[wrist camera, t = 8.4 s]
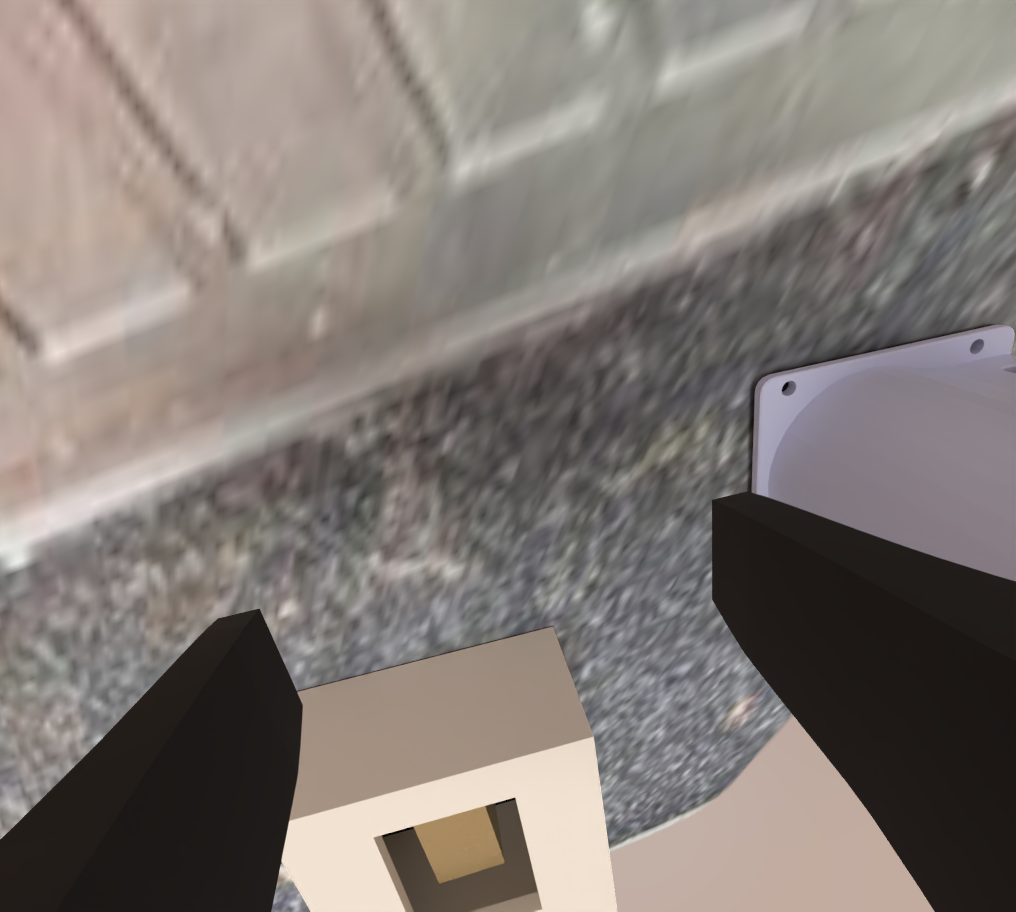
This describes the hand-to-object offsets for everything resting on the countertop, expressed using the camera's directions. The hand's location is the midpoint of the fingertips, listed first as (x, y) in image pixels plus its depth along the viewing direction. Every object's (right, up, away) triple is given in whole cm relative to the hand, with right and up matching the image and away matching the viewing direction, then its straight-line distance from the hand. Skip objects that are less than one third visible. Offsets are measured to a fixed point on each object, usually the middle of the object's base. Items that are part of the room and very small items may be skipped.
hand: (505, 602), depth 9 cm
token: (-2, -10, +14) cm, 18 cm away
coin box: (-2, -10, +14) cm, 18 cm away
